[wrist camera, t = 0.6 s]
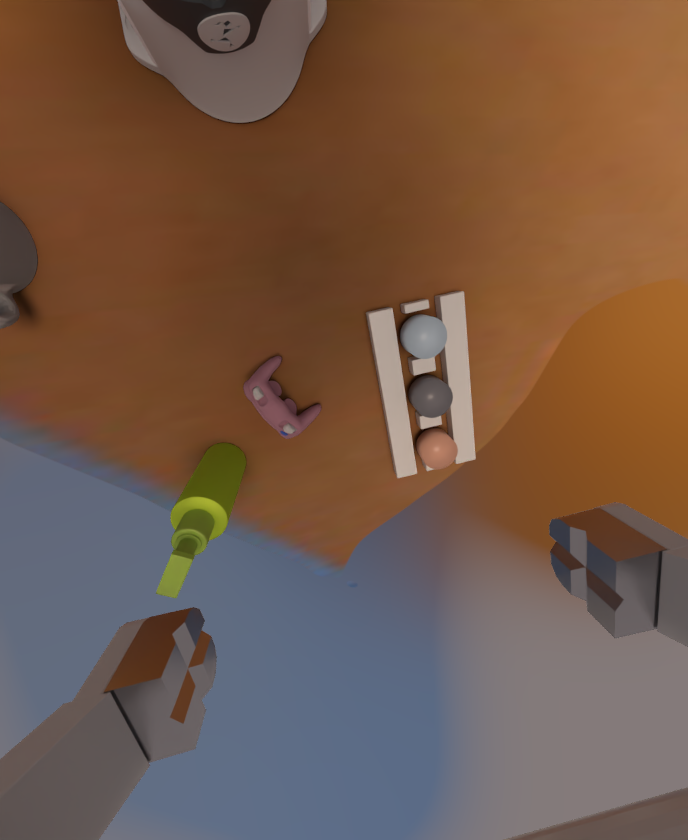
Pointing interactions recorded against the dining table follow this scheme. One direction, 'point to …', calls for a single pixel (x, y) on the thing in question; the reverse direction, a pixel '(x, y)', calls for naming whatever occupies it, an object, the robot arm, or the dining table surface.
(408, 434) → the button board
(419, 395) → the charcoal button
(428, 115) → the dining table surface
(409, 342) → the pale blue button
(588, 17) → the dining table surface
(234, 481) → the soap dispenser
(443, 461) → the terracotta button
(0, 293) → the coffee mug
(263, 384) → the video game controller
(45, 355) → the dining table surface
